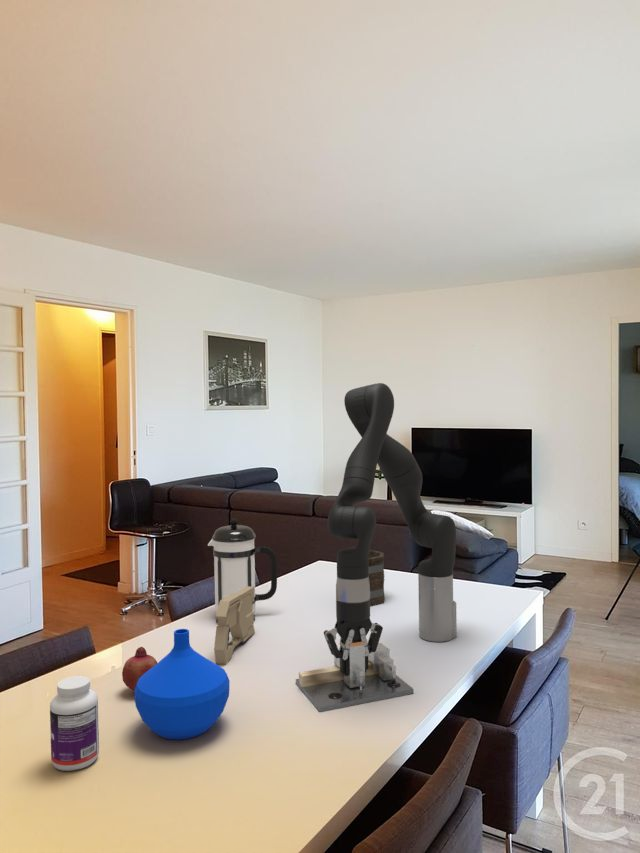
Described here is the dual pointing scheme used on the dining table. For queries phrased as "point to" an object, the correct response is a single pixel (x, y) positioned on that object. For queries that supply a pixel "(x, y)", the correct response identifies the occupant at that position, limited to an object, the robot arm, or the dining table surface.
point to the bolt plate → (354, 692)
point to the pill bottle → (74, 724)
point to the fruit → (137, 667)
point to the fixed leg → (383, 663)
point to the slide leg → (355, 665)
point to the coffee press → (238, 562)
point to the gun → (233, 623)
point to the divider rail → (326, 675)
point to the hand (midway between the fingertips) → (354, 672)
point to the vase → (182, 692)
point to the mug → (376, 577)
